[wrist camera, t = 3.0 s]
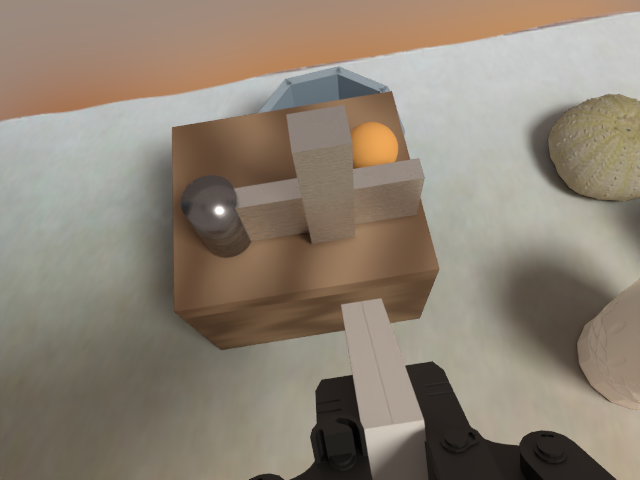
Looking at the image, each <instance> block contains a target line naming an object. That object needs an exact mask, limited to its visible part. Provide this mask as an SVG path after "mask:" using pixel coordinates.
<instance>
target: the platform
mask: <svg viewBox="0 0 640 480" xmlns="http://www.w3.org/2000/svg"><path fill="white" fill-rule="evenodd" d="M341 105H345V110H346V115H347V120H348V124H349V129H350V132H351V131H352V130H353V129H354V128H355V127H356V126H358V125H360V124H362V123H366V122H377V123H381V124H383V125H385V126H387V127H388V128H389V129H390V130H391V131H392V132H393V133H394V135H395V137H396V139H397V143H398V155H397V158H396V161H395V162H399V161H405V160H410V157H409V154H408V150H407V146H406V142H405V139H404V135H403V131H402V127H401V124H400V120H399V116H398V112H397V109H396V105H395V101H394V97H393V94H392V91H390V92H384V93H378V94H372V95H365V96H359V97H353V98H347V99H341V100H335V101H329V102H323V103H317V104H311V105H305V106H299V107H293V108H287V109H281V110H275V111H268V112H262V113H256V114H250V115H244V116H238V117H232V118H226V119H220V120H214V121H208V122H202V123H196V124H190V125H184V126H177V127H172V164H173V252H174V312H175V313H176V314H178V315H179V316H180V317H181V318H183V319H184V320H185V321H186V322H187V323H189V324H190V325H191V326H192V327H194V328H195V329H196V330H197V331H199V332H200V333H201V334H202V335H203V336H205V337H206V338H207V339H208V340H210V341H211V342H212V343H213V344H214V345H216V346H217V347H218V348H219V349H221V350H224V349H230V348H236V347H243V346H249V345H255V344H261V343H268V342H274V341H280V340H287V339H293V338H299V337H305V336H312V335H318V334H324V333H330V332H337V331H343V330H345V326H344V320H343V314H342V307H341V305H342V304H348V303H355V302H361V301H367V300H373V299H380V298H381V299H382V302H383V304H384V307H385V310H386V313H387V316H388V319H389V322H390V323H393V322H399V321H406V320H412V319H418V318H420V316H421V314H422V311H423V309H424V306H425V304H426V301H427V299H428V296H429V294H430V291H431V289H432V286H433V284H434V281H435V279H436V276H437V274H438V271H439V266H438V262H437V258H436V255H435V251H434V247H433V243H432V240H431V236H430V232H429V228H428V225H427V221H426V217H425V213H424V210H423V206H422V202H421V198H420V201H419V205H418V210H417V214H416V215H411V216H405V217H399V218H393V219H386V220H380V221H374V222H368V223H362V224H356V225H355V237H353V238H347V239H341V240H335V241H328V242H322V243H316V244H312V241H311V237H310V232H306V233H300V234H294V235H288V236H281V237H275V238H269V239H263V240H257V241H251V243H250V245H249V246H248V248H247V249H246V250H245V251H244V252H242V253H241V254H239V255H237V256H234V257H229V258H224V257H220V256H217V255H215V254H214V253H212V252H211V251H210V249H209V248H208V247H207V245H206V244H205V242H204V241H203V240H202V238H201V237H200V235H199V234H198V233H197V231H196V230H195V228H194V227H193V225H192V224H191V223H190V221H189V220H188V218H187V217H186V216H185V214H184V213H183V211H182V208H181V197H182V194H183V192H184V190H185V188H186V187H187V186H188V185H189V184H190V183H191V182H192V181H194V180H195V179H197V178H200V177H202V176H206V175H217V176H221V177H223V178H225V179H227V180H228V181H229V182H230V183H231V184H232V186H233V188H240V187H246V186H252V185H258V184H264V183H271V182H277V181H283V180H289V179H295V178H297V174H296V170H295V165H294V161H293V157H292V152H291V144H290V137H289V130H288V123H287V116H286V114H292V113H298V112H304V111H311V110H317V109H323V108H329V107H335V106H341Z"/></svg>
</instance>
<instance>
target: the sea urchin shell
mask: <svg viewBox="0 0 640 480" xmlns="http://www.w3.org/2000/svg"><path fill="white" fill-rule="evenodd" d="M548 141H549V142H548V144H549V150H550V156H551V157H550V158H551V160H552V161H553V162H554V164H555V166H556V169H557V173H558V174H559V175H560V177H561V178H562V179H563V180H564V181H565V183H566V184H567V185H568V186H569V188H571V189H572V190H574V191H575V192H577V193H579V195H584V196H589V197H593V198H596V199H598V200H600V199H602V200H618V201H628V200H631V199H636V198H640V101H638V100H637V99H632V98H628V97H626V96H623V95H620V94H617V95H612V94H608V95H607V94H606V95H604V96H601V97H598V98H591V99H590V100H586V101H585V102H583V103H581V104H580V105H578V106H576V107H572V109H569V110H568V111H567V112H565V113H564V115H563V116H562V117H561V118H560V119H559V120H558V121H557V122H556V123H555V125H554V126H553V127H552V130H551V132H550V135H549V138H548Z"/></svg>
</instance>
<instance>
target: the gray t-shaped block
mask: <svg viewBox="0 0 640 480" xmlns="http://www.w3.org/2000/svg"><path fill="white" fill-rule="evenodd" d="M286 116H287V123H288V130H289V137H290V144H291V152H292V157H293V161H294V165H295V170H296V174H297V178H295V179H289V180H283V181H277V182H271V183H264V184H258V185H252V186H246V187H240V188H233V186H232V184H231V183H230V182H229V181H228V180H227V179H225V178H223V177H221V176H217V175H206V176H202V177H200V178H197V179H195V180H194V181H192V182H191V183H190V184H189V185H188V186H187V187H186V188H185V190H184V192H183V194H182V197H181V208H182V211H183V213H184V214H185V216H186V217H187V218H188V220H189V221H190V223H191V224H192V225H193V227H194V228H195V230H196V231H197V233H198V234H199V235H200V237H201V238H202V240H203V241H204V242H205V244H206V245H207V247H208V248H209V249H210V251H211V252H212V253H214V254H215V255H217V256H220V257H224V258H229V257H234V256H237V255H239V254H241V253H242V252H244V251H245V250H246V249H247V248H248V246H249V245H250V243H251V241H257V240H263V239H269V238H275V237H281V236H288V235H294V234H300V233H306V232H310V237H311V241H312V244H316V243H322V242H328V241H335V240H341V239H347V238H353V237H355V225H356V224H362V223H368V222H374V221H380V220H386V219H393V218H399V217H405V216H411V215H416V214H417V210H418V205H419V201H420V196H421V192H422V187H423V183H424V178H425V177H424V174H423V170H422V167H421V163H420V159H419V158H417V159H411V160H405V161H399V162H393V163H387V164H381V165H375V166H368V167H362V168H356V169H353V147H352V139H351V134H350V129H349V124H348V120H347V115H346V110H345V105H341V106H335V107H329V108H323V109H317V110H311V111H304V112H298V113H292V114H286Z"/></svg>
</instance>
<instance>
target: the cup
mask: <svg viewBox="0 0 640 480" xmlns="http://www.w3.org/2000/svg"><path fill="white" fill-rule="evenodd" d="M384 92H390V91H389V88H388V86H385V85H383V84H380V83H378V82H375V81H373V80H371V79H368V78H366V77H363V76H361V75H358V74H356V73H353V72H351V71H349V70H346V69H344V68H341V67H335V68H330V69H326V70H322V71H318V72H313V73H309V74H305V75H301V76H296V77H292V78H288V79H285V80H284V81H283V82H282V84H281V85H280V86H279V87H278V89H277V90H276V91H275V92H274V94H273V95H272V96H271V97H270V98H269V100H268V101H267V102H266V103H265V105H264V106H263V107H262V108H261V110H260V111H259V112H258V113H262V112H268V111H275V110H281V109H287V108H293V107H299V106H305V105H311V104H317V103H323V102H329V101H335V100H341V99H347V98H353V97H359V96H365V95H372V94H378V93H384ZM398 116H399V114H398ZM399 120H400V117H399ZM400 124H401V127H402V131H403V135H404V134H405V130H404V127H403V125H402V122H401V120H400Z"/></svg>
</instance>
